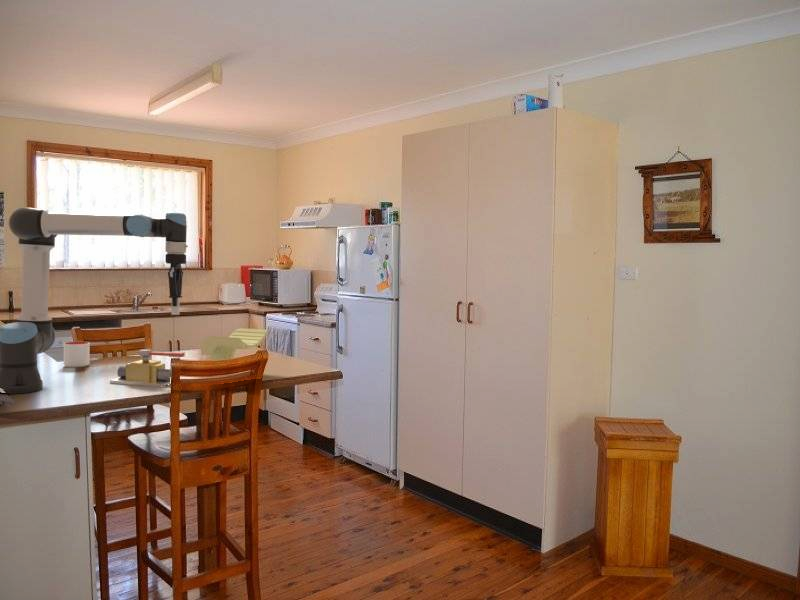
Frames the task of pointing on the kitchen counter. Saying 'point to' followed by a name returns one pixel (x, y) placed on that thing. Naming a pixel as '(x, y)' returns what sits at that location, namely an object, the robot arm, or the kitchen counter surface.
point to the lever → (161, 353)
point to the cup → (76, 354)
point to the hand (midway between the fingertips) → (175, 314)
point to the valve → (143, 373)
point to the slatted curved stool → (232, 343)
